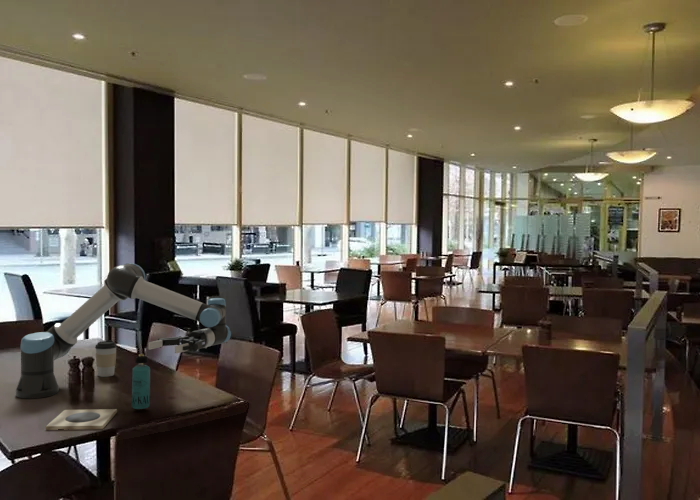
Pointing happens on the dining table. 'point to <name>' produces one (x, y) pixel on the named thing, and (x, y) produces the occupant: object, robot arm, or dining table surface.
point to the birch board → (82, 419)
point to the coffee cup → (105, 358)
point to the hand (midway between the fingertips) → (162, 347)
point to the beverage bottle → (141, 384)
